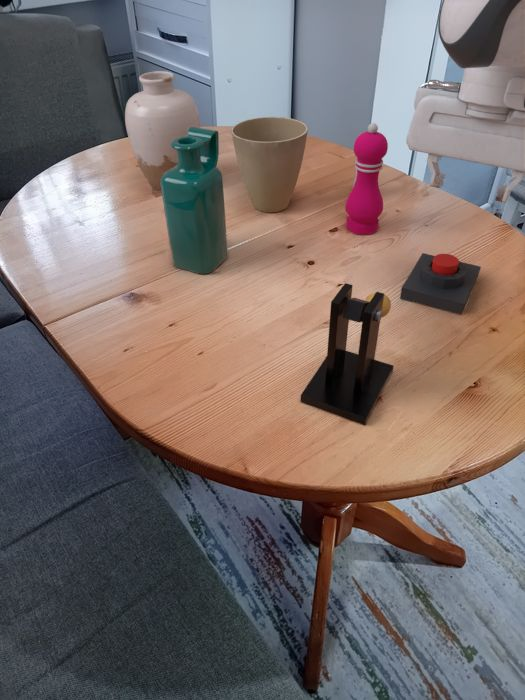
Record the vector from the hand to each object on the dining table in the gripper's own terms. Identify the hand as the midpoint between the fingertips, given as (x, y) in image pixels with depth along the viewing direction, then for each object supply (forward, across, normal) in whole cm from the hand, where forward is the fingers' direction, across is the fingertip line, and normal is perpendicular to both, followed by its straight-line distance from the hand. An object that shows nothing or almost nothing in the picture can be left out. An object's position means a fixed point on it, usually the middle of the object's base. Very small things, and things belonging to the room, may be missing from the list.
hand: (467, 193), depth 77 cm
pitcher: (+19, -41, -10) cm, 46 cm away
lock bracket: (+21, -4, -25) cm, 33 cm away
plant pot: (+15, -42, +15) cm, 48 cm away
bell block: (+17, -1, +4) cm, 18 cm away
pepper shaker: (+14, -28, +29) cm, 43 cm away
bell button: (+14, -1, +3) cm, 14 cm away
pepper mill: (+15, -21, +16) cm, 31 cm away
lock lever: (+12, -4, -22) cm, 26 cm away
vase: (+16, -68, +13) cm, 71 cm away
